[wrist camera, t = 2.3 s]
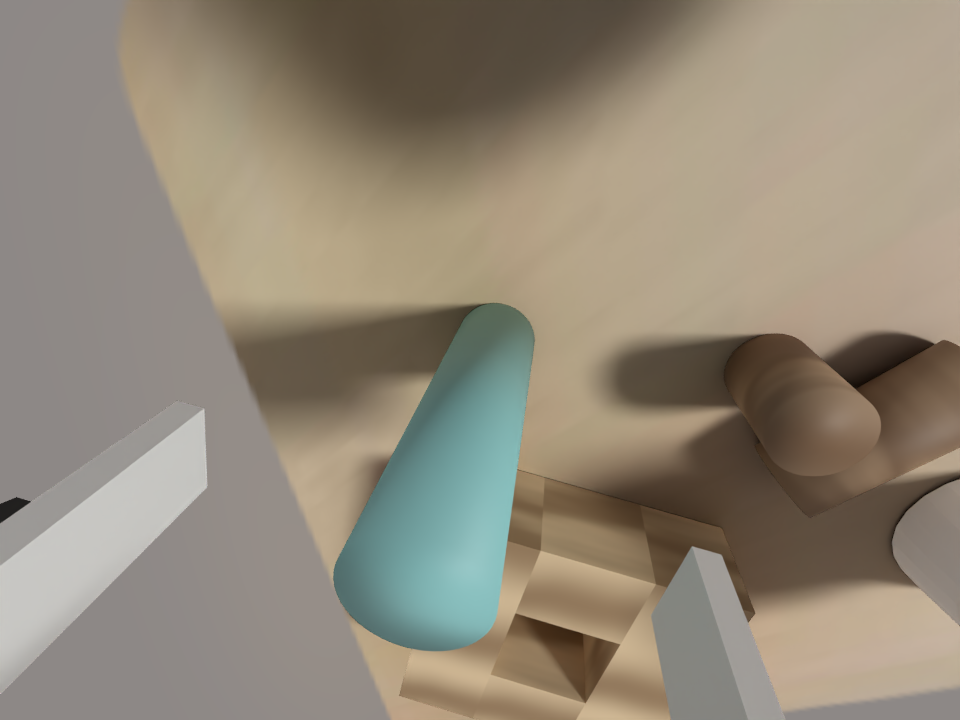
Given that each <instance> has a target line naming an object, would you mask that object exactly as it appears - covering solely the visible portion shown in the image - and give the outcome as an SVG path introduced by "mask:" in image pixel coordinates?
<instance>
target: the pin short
mask: <svg viewBox="0 0 960 720" xmlns="http://www.w3.org/2000/svg"><path fill="white" fill-rule="evenodd" d="M724 381H725V385H726V387H727V389H728V391H729V392H730V394H731V396H732V397H733V399H734V400H735V402H736V404H737V405H738V407H739V408H740V410H741V412H742V413H743V415H744V416H745V418H746V420H747V421H748V423H749V424H750V426H751V427H752V429H753V431H754V432H755V434H756V435H757V437H758V439H759V440H760V442H761V443H762V445H763V447H764V448H765V450H766V451H767V453H768V455H769V456H770V458H771V459H772V460H773V461H774V463H776V464H777V465H778V466H779V467H781V468H782V469H784V470H786V471H788V472H791V473H794V474H797V475H802V476H824V475H830V474H834V473H838V472H840V471H843V470H846V469H848V468H850V467H852V466H853V465H855V464H857V463H858V462H860V461H861V460H862V459H864V458H865V457H866V456H867V455H868V454H869V453H870V452H871V450H872V449H873V448H874V446H875V445H876V443H877V441H878V439H879V435H880V431H881V421H880V417H879V414H878V412H877V410H876V409H875V407H874V406H873V405H872V404H871V403H870V402H869V401H868V400H867V399H866V398H864V397H863V396H862V395H861V394H860V393H859V392H858V391H857V390H856V389H854V388H853V387H852V386H851V385H850V384H849V383H848V382H847V381H845V380H844V379H843V378H842V377H841V376H840V375H839V374H838V373H837V372H835V371H834V370H833V369H832V368H831V367H830V366H829V365H828V364H827V363H825V362H824V361H823V360H822V359H821V358H820V357H819V356H818V355H816V354H815V353H814V352H813V351H812V350H811V349H810V348H809V347H808V346H806V345H805V344H804V343H803V342H802V341H800V340H799V339H797V338H795V337H792V336H789V335H785V334H766V335H762V336H758V337H755V338H753V339H751V340H749V341H747V342H745V343H744V344H742V345H741V346H740V347H738V348H737V349H736V350H735V351H734V352H733V354H732V355H731V356H730V358H729V359H728V361H727V364H726V366H725V370H724Z"/></svg>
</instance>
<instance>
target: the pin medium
mask: <svg viewBox="0 0 960 720" xmlns="http://www.w3.org/2000/svg"><path fill="white" fill-rule="evenodd" d="M856 390H857V391H858V392H859V393H860V394H861V395H862V396H863V397H864V398H866V399H867V400H868V401H869V402H870V403H871V404H872V405H873V406H874V407H875V409H876V410H877V412H878V414H879V417H880V421H881V431H880V435H879V439H878V441H877V443H876V445H875V446H874V448H873V449H872V450H871V452H870V453H869V454H868V455H867V456H866V457H865V458H864V459H862V460H861V461H860V462H858V463H857V464H855V465H853V466H852V467H850V468H848V469H846V470H843V471H840V472H838V473H834V474H830V475H824V476H802V475H797V474H794V473H791V472H788V471H786V470H784V469H782V468H781V467H779V466H778V465H777V464H776V463H774V461H773V460H772V459H771V458H770V456H769V455H768V453H767V451H766V450H765V448H764V447H763V445H762V443H761V442H760V443H758V444H756V445H755V448H756V450H757V452H758V454H759V455H760V457H761V459H762V460H763V462H764V463H765V465H766V466H767V468H768V469H769V470H770V472H771V473H772V475H773V476H774V477H775V479H776V480H777V481H778V483H779V484H780V485H781V487H782V488H783V489H784V490H785V492H786V493H787V494H788V495H789V497H790V498H791V499H792V500H793V501H794V503H795V504H796V505H797V506H798V507H799V508H800V509H801V510H802V511H803V512H804V513H805V514H806V515H807V516H808V517H809V518H811V517H813V516H816V515H818V514H820V513H822V512H824V511H826V510H828V509H830V508H833V507H835V506H837V505H839V504H841V503H843V502H845V501H847V500H849V499H852V498H854V497H856V496H858V495H860V494H862V493H864V492H866V491H869V490H871V489H873V488H875V487H877V486H879V485H881V484H883V483H886V482H888V481H890V480H892V479H894V478H896V477H898V476H900V475H903V474H905V473H907V472H909V471H911V470H913V469H915V468H917V467H920V466H922V465H924V464H926V463H928V462H930V461H932V460H934V459H937V458H939V457H941V456H943V455H945V454H947V453H949V452H951V451H954V450H956V449H958V448H960V347H959V346H958V345H956V344H954V343H952V342H949V341H946V340H942V341H940V342H938V343H937V344H935V345H933V346H931V347H929V348H928V349H926V350H924V351H922V352H921V353H919V354H917V355H915V356H913V357H912V358H910V359H908V360H906V361H905V362H903V363H901V364H899V365H897V366H896V367H894V368H892V369H890V370H888V371H887V372H885V373H883V374H881V375H880V376H878V377H876V378H874V379H872V380H871V381H869V382H867V383H865V384H863V385H862V386H860V387H858V388H856Z"/></svg>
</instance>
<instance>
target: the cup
mask: <svg viewBox="0 0 960 720" xmlns="http://www.w3.org/2000/svg"><path fill="white" fill-rule="evenodd" d="M892 546H893V555H894V558H895V559H896V561H897V563H898V564H899V566H900V568H901V569H902V570H903V571H904V573H905V574H906V575H907V576H908V577H909V578H910V579H911V580H912V581H913V582H914V583H915V584H916V585H917V586H918V587H919V588H920V589H921V590H922V591H923V592H924V593H925V594H926V595H927V596H928V597H929V598H930V599H931V600H932V601H934V602H935V603H936V604H937V605H938V606H939V607H940V608H941V609H942V610H943V611H944V612H945V613H946V614H947V615H949V616H950V617H951V618H952V619H953V620H954V621H955V622H956V623H957V624H958V625H959V626H960V479H959V480H956V481H953V482H950V483H947V484H945V485H943V486H941V487H940V488H938V489H936V490H934V491H932V492H931V493H929V494H927V495H925V496H924V497H923V498H921V499H920V500H919V501H918V502H917V503H916V504H914V505H913V506H912V507H911V508H910V509H909V510H907V512H906V513H905V515H904V516H903V517H902V519H901V520H900V522H899V523H898V525H897V526H896V529H895V533H894V536H893V540H892Z"/></svg>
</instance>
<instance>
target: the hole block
mask: <svg viewBox="0 0 960 720" xmlns="http://www.w3.org/2000/svg"><path fill="white" fill-rule="evenodd" d="M692 546H693V547H696V548H700V549H703V550H707V551H710V552H714V553H717V554H721V555H722V557H723V560H724V562H725V565H726V568H727V570H728V573H729V575H730V578H731V580H732V583H733V586H734V588H735V591H736V593H737V596H738V599H739V601H740V604H741V606H742V609H743V611H744V614H745V617H746V619H747V622H749V621H750V620H751V618H752V617H753V616H754V614H755V611H754V609H753V606H752V604H751V601H750V599H749V596H748V594H747V591H746V588H745V586H744V583H743V581H742V578H741V576H740V573H739V571H738V568H737V566H736V563H735V561H734V558H733V555H732V553H731V550H730V548H729V545H728V543H727V540H726V538H725V535H724V533H723V530H722V528H719V527H716V526H712V525H709V524H705V523H702V522H698V521H695V520H691V519H688V518H684V517H681V516H677V515H674V514H670V513H667V512H663V511H660V510H656V509H653V508H649V507H646V506H642V505H639V504H635V503H632V502H628V501H625V500H621V499H618V498H614V497H611V496H607V495H604V494H600V493H597V492H593V491H590V490H586V489H583V488H579V487H576V486H572V485H569V484H565V483H562V482H558V481H555V480H551V479H548V478H544V477H541V476H537V475H534V474H530V473H527V472H523V471H520V470H517V474H516V481H515V488H514V496H513V503H512V510H511V518H510V525H509V532H508V539H507V547H506V554H505V561H504V568H503V576H502V583H501V590H500V597H499V605H498V612H497V616H496V620H495V622H494V624H493V626H492V628H491V629H490V630H489V632H488V633H487V634H486V635H485V636H484V637H482V638H481V639H480V640H478V641H477V642H475V643H473V644H471V645H469V646H466V647H463V648H460V649H455V650H450V651H422V650H416V649H411V653H410V657H409V660H408V664H407V668H406V672H405V675H404V679H403V683H402V687H401V691H400V694H399V696H402V697H405V698H408V699H411V700H415V701H418V702H421V703H424V704H428V705H431V706H434V707H437V708H441V709H444V710H447V711H450V712H454V713H457V714H460V715H463V716H467V717H470V718H473V719H476V720H671V718H670V712H669V707H668V702H667V697H666V692H665V686H664V681H663V676H662V671H661V665H660V660H659V655H658V650H657V645H656V639H655V634H654V629H653V624H652V618H651V614H652V613H653V611H654V609H655V607H656V606H657V604H658V602H659V601H660V599H661V597H662V596H663V594H664V592H665V591H666V589H667V587H668V586H669V584H670V582H671V581H672V579H673V577H674V576H675V574H676V572H677V571H678V569H679V567H680V566H681V564H682V562H683V561H684V559H685V557H686V556H687V554H688V552H689V550H690V549H691V547H692Z"/></svg>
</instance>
